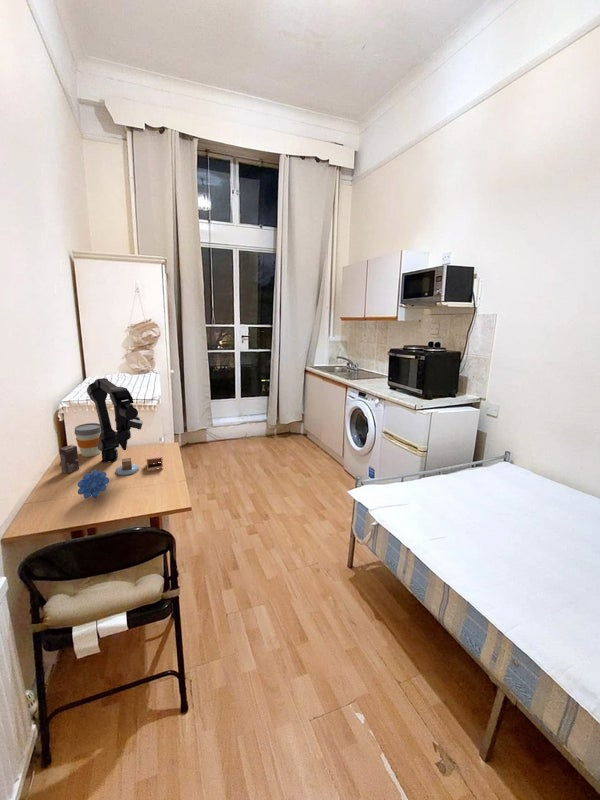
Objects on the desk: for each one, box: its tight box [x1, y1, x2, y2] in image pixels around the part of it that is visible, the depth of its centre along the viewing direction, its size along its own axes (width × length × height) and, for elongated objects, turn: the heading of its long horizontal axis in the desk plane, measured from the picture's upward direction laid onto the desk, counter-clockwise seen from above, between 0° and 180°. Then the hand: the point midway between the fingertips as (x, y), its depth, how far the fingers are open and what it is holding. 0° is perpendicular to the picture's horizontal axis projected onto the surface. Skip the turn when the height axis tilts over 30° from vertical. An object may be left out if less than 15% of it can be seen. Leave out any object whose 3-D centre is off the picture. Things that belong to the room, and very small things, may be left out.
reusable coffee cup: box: [74, 422, 102, 457], centre depth 188 cm, size 12×12×15 cm
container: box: [145, 451, 164, 471], centre depth 175 cm, size 7×7×6 cm
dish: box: [115, 463, 140, 476], centre depth 171 cm, size 10×10×1 cm
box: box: [58, 444, 80, 474], centre depth 168 cm, size 6×4×12 cm
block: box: [121, 457, 133, 471], centre depth 170 cm, size 4×4×4 cm
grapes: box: [77, 469, 110, 499], centre depth 146 cm, size 12×7×12 cm, turn 120°
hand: (125, 446), depth 168 cm, fingers open, 9 cm apart
